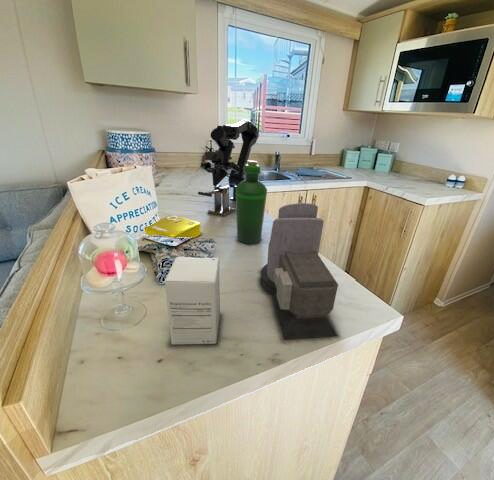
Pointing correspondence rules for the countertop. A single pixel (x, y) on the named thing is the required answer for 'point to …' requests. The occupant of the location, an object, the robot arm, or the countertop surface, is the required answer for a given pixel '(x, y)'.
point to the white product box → (193, 300)
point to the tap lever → (211, 192)
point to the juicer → (299, 274)
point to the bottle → (250, 205)
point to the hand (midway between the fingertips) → (214, 185)
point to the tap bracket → (223, 208)
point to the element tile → (174, 227)
